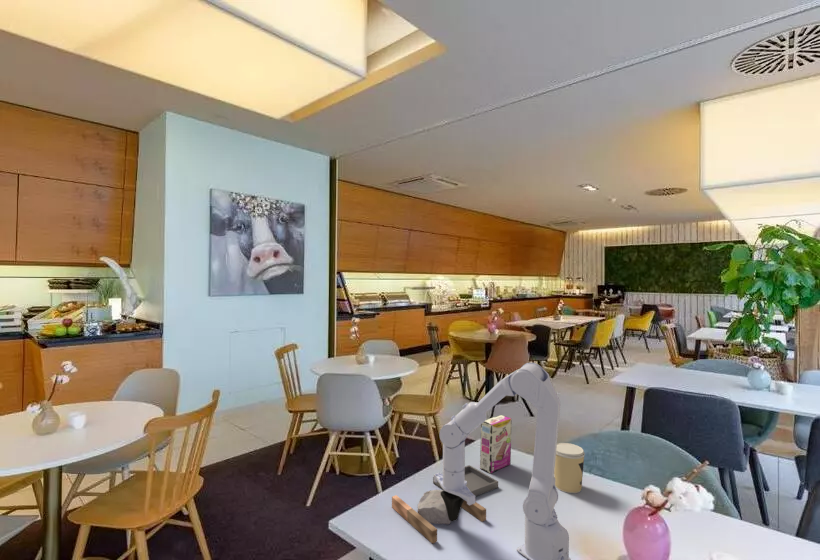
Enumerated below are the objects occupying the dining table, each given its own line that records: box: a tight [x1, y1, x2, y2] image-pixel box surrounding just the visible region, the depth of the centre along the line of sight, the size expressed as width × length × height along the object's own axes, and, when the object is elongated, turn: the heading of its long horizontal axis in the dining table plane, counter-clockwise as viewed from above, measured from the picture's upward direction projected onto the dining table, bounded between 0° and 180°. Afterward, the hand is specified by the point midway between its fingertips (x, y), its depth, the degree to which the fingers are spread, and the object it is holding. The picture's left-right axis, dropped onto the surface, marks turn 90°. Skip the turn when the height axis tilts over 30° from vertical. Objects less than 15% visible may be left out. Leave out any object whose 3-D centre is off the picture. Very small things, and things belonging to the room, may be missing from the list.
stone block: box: [417, 489, 452, 526], centre depth 114 cm, size 12×5×10 cm
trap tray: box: [432, 464, 499, 498], centre depth 129 cm, size 13×15×2 cm
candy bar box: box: [479, 414, 513, 474], centre depth 142 cm, size 11×5×16 cm, turn 130°
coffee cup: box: [554, 442, 585, 494], centre depth 128 cm, size 9×9×12 cm
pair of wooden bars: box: [391, 494, 487, 544], centre depth 113 cm, size 19×18×3 cm
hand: (453, 519), depth 108 cm, fingers closed
